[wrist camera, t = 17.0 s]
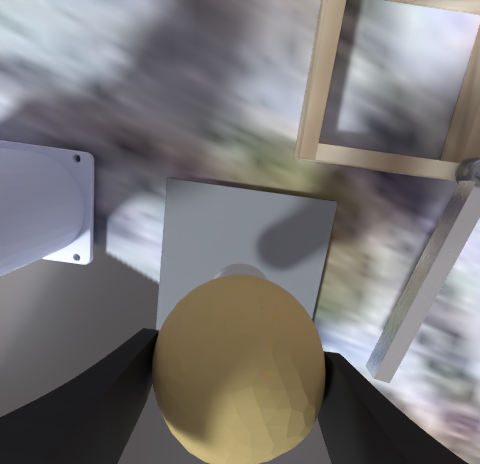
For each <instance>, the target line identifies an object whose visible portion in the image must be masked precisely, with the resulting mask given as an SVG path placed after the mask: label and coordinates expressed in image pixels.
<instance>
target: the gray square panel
mask: <svg viewBox="0 0 480 464" xmlns="http://www.w3.org/2000/svg"><path fill="white" fill-rule="evenodd" d="M337 203H338V202H336V201H330V200H323V199H316V198H309V197H302V196H294V195H287V194H280V193H273V192H266V191H258V190H251V189H244V188H237V187H230V186H223V185H215V184H208V183H201V182H194V181H187V180H180V179H172V178H167V188H166V202H165V215H164V229H163V242H162V256H161V269H160V283H159V297H158V311H157V324H156V330H159V331H160V329H161V327H162V325H163V323H164V321H165V320H166V318H167V316H168V315H169V314H170V312H171V311H172V310H173V308H174V307H175V306H176V304H177V303H178V302H179V301H180V300H181V299H182V298H183V297H185V296H186V295H187V294H188V293H189V292H190V291H192V290H193V289H195V288H196V287H198V286H199V285H201V284H204V283H206V282H208V281H210V280H212V279H213V278H214V277H215V275H216V274H217V273H218V272H219V271H220V270H222V269H223V268H225V267H227V266H229V265H232V264H248V265H251V266H254V267H255V268H257V269H258V270H260V271H261V272H262V273H263V274H264V275H265V277H266V278H267V280H268V281H271V282H273V283H275V284H277V285H279V286H280V287H282V288H283V289H285V290H286V291H287V292H289V293H290V294H291V295H293V296H294V297H295V298H296V299H297V300H298V301H299V303H300V304H301V305H302V306H303V307H304V308H305V310H306V311H307V313H308V314H309V316H310V317H311V319H312V317H313V312H314V308H315V303H316V299H317V294H318V290H319V285H320V281H321V276H322V271H323V267H324V262H325V258H326V253H327V249H328V244H329V240H330V235H331V231H332V226H333V222H334V217H335V212H336V208H337Z"/></svg>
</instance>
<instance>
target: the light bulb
mask: <svg viewBox="0 0 480 464" xmlns="http://www.w3.org/2000/svg"><path fill="white" fill-rule="evenodd" d="M325 374H326V373H325V360H324V353H323V348H322V344H321V340H320V337H319V334H318V331H317V329H316V327H315V325H314V323H313V321H312V319H311V317H310V316H309V314H308V313H307V311H306V310H305V308H304V307H303V306H302V305H301V304H300V303H299V301H298V300H297V299H296V298H295V297H294V296H293V295H291V294H290V293H289V292H287V291H286V290H285V289H283V288H282V287H280V286H279V285H277V284H275V283H273V282H271V281H268V280H267V278H266V277H265V275H264V274H263V273H262V272H261V271H260V270H258V269H257V268H255V267H254V266H251V265H248V264H232V265H229V266H227V267H225V268H223V269H222V270H220V271H219V272H218V273H217V274H216V275H215V277H214V278H213V279H212V280H210V281H208V282H206V283H204V284H201V285H199V286H198V287H196V288H195V289H193V290H192V291H190V292H189V293H188V294H187V295H186V296H185V297H183V298H182V299H181V300H180V301H179V302H178V303H177V304H176V306H175V307H174V308H173V310H172V311H171V312H170V314H169V315H168V316H167V318H166V320H165V321H164V323H163V325H162V327H161V329H160V331H159V334H158V337H157V341H156V344H155V347H154V352H153V359H152V379H153V388H154V392H155V395H156V399H157V403H158V406H159V409H160V412H161V413H162V415H163V417H164V419H165V421H166V423H167V425H168V426H169V428H170V430H171V432H172V433H173V435H174V436H175V437H176V438H177V439H178V440H179V441H180V443H181V444H182V445H183V446H184V447H185V448H186V449H187V450H188V451H189V452H190V453H192V454H193V455H195V456H196V457H198V458H199V459H201V460H203V461H204V462H208V463H211V464H258V463H262V462H267V461H269V460H272V459H273V458H275V457H277V456H279V455H281V454H283V453H285V452H287V451H289V450H290V449H292V448H293V447H295V446H296V445H298V444H299V443H300V442H301V441H302V440H303V439H304V438H305V437H306V436H307V435H308V433H309V432H310V431H311V429H312V427H313V425H314V423H315V421H316V418H317V416H318V414H319V411H320V408H321V405H322V400H323V395H324V389H325Z"/></svg>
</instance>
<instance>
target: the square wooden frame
mask: <svg viewBox="0 0 480 464" xmlns="http://www.w3.org/2000/svg"><path fill="white" fill-rule="evenodd" d="M386 1H393V2H399V3H406V4H412V5H419V6H425V7H432V8H438V9H445V10H451V11H458V12H464V13H471V14H477V15H480V0H386ZM345 4H346V0H322V1H321V6H320V12H319V18H318V23H317V29H316V35H315V40H314V46H313V52H312V57H311V63H310V69H309V74H308V80H307V86H306V91H305V97H304V103H303V108H302V114H301V120H300V126H299V131H298V137H297V143H296V148H295V154H294V159H299V160H306V161H313V162H320V163H327V164H334V165H341V166H349V167H356V168H363V169H370V170H377V171H384V172H391V173H398V174H405V175H412V176H419V177H426V178H433V179H440V180H447V181H456V178H455V173H456V170H457V168H458V166H459V165H460V163H462V162H463V161H464V160H466V159H469V158H479V157H480V26H479V29H478V33H477V36H476V40H475V43H474V46H473V50H472V53H471V56H470V60H469V63H468V67H467V70H466V73H465V77H464V80H463V83H462V87H461V90H460V94H459V97H458V100H457V104H456V107H455V110H454V114H453V117H452V121H451V124H450V127H449V131H448V134H447V137H446V141H445V144H444V148H443V151H442V154H441V158H440V160H433V159H426V158H419V157H412V156H405V155H398V154H391V153H384V152H377V151H370V150H363V149H356V148H349V147H342V146H335V145H328V144H321V143H319V138H320V133H321V128H322V122H323V117H324V112H325V107H326V102H327V97H328V91H329V86H330V81H331V76H332V71H333V66H334V61H335V55H336V50H337V45H338V40H339V35H340V30H341V25H342V19H343V14H344V9H345Z"/></svg>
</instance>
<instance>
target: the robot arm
mask: <svg viewBox="0 0 480 464" xmlns="http://www.w3.org/2000/svg"><path fill="white" fill-rule="evenodd" d="M77 155H79V156H80V162H78V161H77V160H76V157H77ZM93 223H94V157H93V156H92V155H91V154H90V153H88V152H82V151H75V150H68V149H61V148H54V147H47V146H40V145H33V144H25V143H18V142H11V141H4V140H0V276H2V275H5V274H7V273H9V272H12V271H14V270H16V269H18V268H21V267H23V266H25V265H27V264H30V263H32V262H34V261H36V260H39V259H47V260H54V261H62V262H69V263H77V264H88V263H90V262H91V261H92V260H93ZM76 254H79V256H80V259H79V258H77V256H76ZM158 334H159V330H154V329H145V328H143V329H142V330H140V331H139V332H138V333H136V334H135V335H134V336H132V337H131V338H130V339H129V340H127V341H126V342H125V343H124V344H122V345H121V346H119V347H118V348H117V349H116V350H114V351H113V352H112V353H110V354H109V355H107V356H106V357H105V358H103V359H102V360H100V361H99V362H98V363H96V364H95V365H93V366H92V367H90V368H89V369H87V370H86V371H84V372H83V373H81V374H80V375H79V376H77V377H75V378H74V379H72V380H70V381H69V382H67V383H65V384H64V385H62V386H60V387H58V388H57V389H55V390H53V391H51V392H50V393H48V394H46V395H44V396H42V397H40V398H39V399H37V400H35V401H33V402H31V403H29V404H27V405H25V406H23V407H21V408H18V409H16V410H14V411H12V412H10V413H8V414H6V415H4V416H2V417H0V464H117V463H118V461H119V459H120V457H121V454H122V452H123V450H124V448H125V446H126V444H127V442H128V440H129V437H130V435H131V433H132V431H133V429H134V427H135V425H136V423H137V420H138V418H139V416H140V414H141V412H142V410H143V408H144V405H145V403H146V401H147V398H148V395H149V392H150V389H151V386H152V384H153V379H152V359H153V352H154V347H155V344H156V341H157V337H158ZM324 360H325V373H326V374H325V389H324V395H323V400H322V405H321V408H320V411H319V414H318V420H319V424H320V428H321V431H322V434H323V438H324V441H325V444H326V447H327V450H328V454H329V457H330V460H331V463H332V464H468V463H467V462H465V461H464V460H462V459H461V458H459V457H458V456H457V455H455V454H454V453H453V452H451V451H450V450H449V449H447V448H446V447H444V446H443V445H442V444H441V443H439V442H438V441H437V440H435V439H434V438H433V437H432V436H430V435H429V434H428V433H426V432H425V431H424V430H423V429H421V428H420V427H419V426H418V425H417V424H415V423H414V422H413V421H412V420H411V419H409V418H408V417H407V416H406V415H405V414H404V413H402V412H401V411H400V410H399V409H398V408H397V407H396V406H394V405H393V404H392V403H391V402H390V401H389V400H388V399H387V398H386V397H385V396H383V395H382V394H381V393H380V392H379V391H378V390H377V389H376V388H375V387H374V386H373V385H372V384H371V383H370V382H369V381H368V380H367V379H366V378H365V377H364V376H363V375H361V374H360V373H359V372H358V371H357V370H356V369H355V368H354V367H353V366H352V365H351V364H350V363H349V362H348V361H347V360H346V359H345V358H344V357H343V356H342V355H340V354H339V353H333V352H325V351H324Z"/></svg>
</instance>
